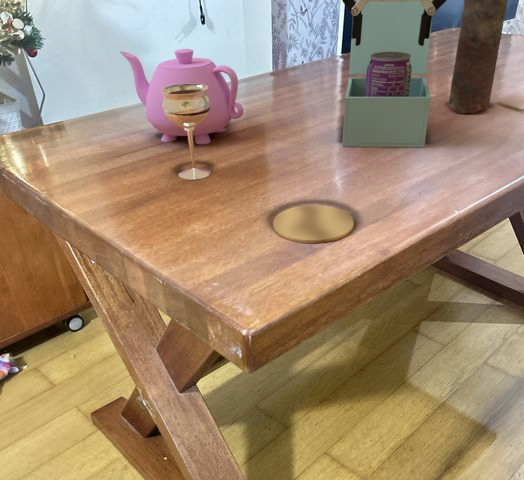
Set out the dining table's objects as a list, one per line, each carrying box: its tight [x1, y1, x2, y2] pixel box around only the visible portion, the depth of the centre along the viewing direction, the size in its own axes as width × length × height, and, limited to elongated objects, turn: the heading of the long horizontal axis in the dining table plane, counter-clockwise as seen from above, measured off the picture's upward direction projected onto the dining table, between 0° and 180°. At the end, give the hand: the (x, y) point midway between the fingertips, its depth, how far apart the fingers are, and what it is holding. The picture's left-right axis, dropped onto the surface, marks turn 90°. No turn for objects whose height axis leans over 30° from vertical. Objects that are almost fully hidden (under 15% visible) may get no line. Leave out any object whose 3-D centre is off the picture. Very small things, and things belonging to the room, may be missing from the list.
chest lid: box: [348, 0, 434, 76], centre depth 94 cm, size 15×13×4 cm
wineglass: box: [161, 83, 212, 181], centre depth 79 cm, size 7×7×12 cm
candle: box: [448, 0, 509, 115], centre depth 98 cm, size 8×7×20 cm
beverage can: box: [365, 52, 412, 97], centre depth 89 cm, size 7×7×12 cm
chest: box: [342, 76, 432, 149], centre depth 92 cm, size 14×13×8 cm
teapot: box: [119, 48, 244, 145], centre depth 94 cm, size 22×16×14 cm
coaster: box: [272, 204, 355, 244], centre depth 67 cm, size 10×10×1 cm
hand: (389, 44), depth 84 cm, fingers open, 9 cm apart
